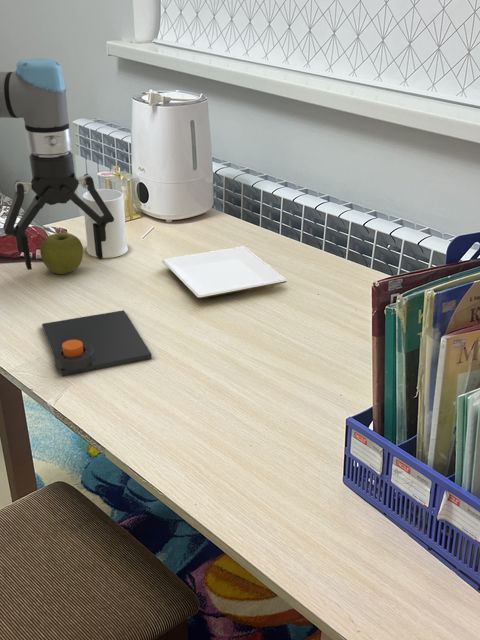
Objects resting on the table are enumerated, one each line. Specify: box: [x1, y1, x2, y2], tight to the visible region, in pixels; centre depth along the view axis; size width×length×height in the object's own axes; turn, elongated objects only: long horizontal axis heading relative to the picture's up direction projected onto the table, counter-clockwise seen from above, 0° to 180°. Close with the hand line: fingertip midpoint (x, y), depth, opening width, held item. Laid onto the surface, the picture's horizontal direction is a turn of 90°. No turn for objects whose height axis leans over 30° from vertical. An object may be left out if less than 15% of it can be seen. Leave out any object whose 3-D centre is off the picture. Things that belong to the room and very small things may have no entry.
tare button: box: [62, 340, 83, 357], centre depth 105 cm, size 3×3×2 cm
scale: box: [41, 309, 152, 377], centre depth 112 cm, size 16×14×2 cm
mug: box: [82, 188, 129, 259], centre depth 144 cm, size 12×8×12 cm
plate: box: [161, 245, 288, 300], centre depth 135 cm, size 19×19×2 cm
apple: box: [39, 232, 84, 275], centre depth 134 cm, size 8×8×7 cm
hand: (64, 261), depth 135 cm, fingers open, 13 cm apart
